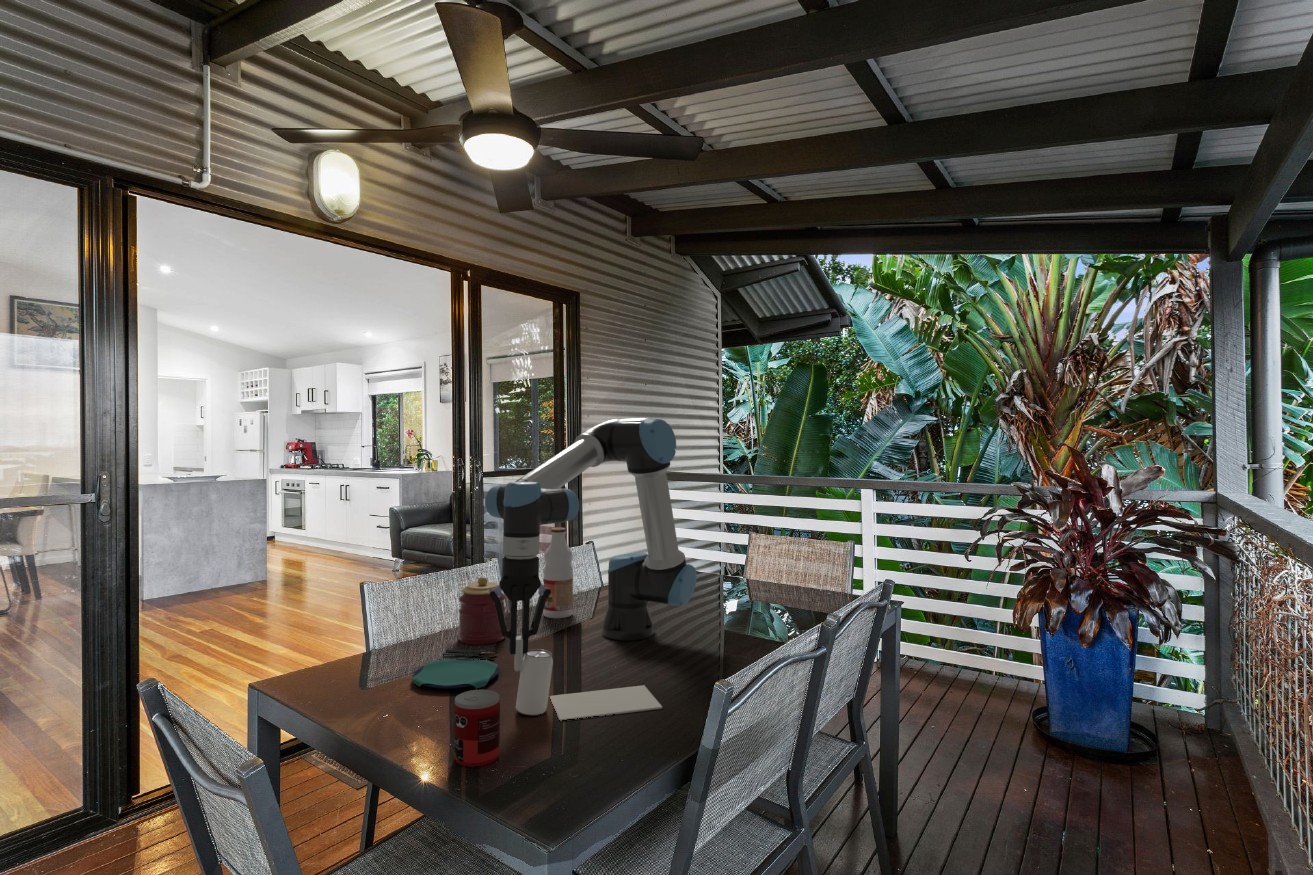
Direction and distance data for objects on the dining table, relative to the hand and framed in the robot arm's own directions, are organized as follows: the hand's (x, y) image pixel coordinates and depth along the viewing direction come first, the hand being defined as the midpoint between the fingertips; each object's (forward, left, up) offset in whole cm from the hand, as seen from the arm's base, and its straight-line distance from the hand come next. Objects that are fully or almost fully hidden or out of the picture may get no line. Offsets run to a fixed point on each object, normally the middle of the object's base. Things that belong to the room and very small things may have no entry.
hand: (518, 668), depth 143 cm
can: (0, +3, -9) cm, 10 cm away
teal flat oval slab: (-30, -10, -10) cm, 33 cm away
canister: (-56, -3, -10) cm, 56 cm away
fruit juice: (-75, +22, -10) cm, 78 cm away
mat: (0, +19, -9) cm, 21 cm away
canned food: (+17, -9, -10) cm, 22 cm away
